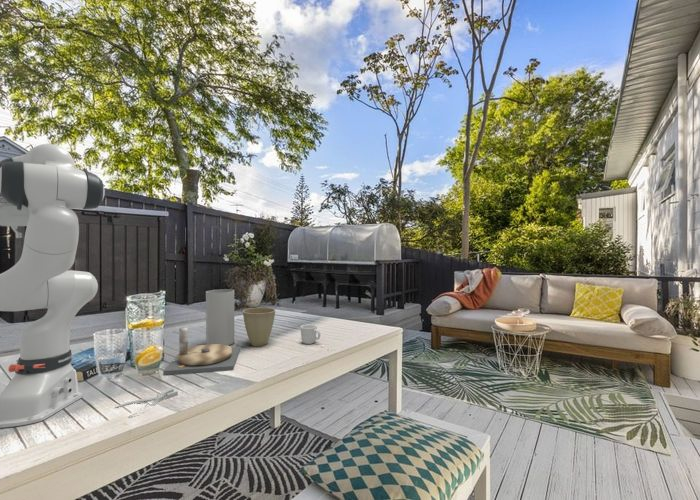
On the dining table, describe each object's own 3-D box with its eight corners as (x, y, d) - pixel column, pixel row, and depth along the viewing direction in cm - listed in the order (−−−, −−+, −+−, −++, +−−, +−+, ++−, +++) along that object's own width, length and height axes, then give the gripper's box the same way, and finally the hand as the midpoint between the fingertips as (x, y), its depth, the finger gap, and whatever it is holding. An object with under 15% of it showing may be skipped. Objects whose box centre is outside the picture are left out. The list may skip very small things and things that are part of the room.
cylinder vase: (221, 338, 168) (220, 288, 167) (240, 341, 162) (239, 290, 162) (200, 345, 156) (199, 292, 156) (219, 349, 151) (219, 293, 150)
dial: (231, 346, 148) (231, 319, 148) (232, 361, 130) (232, 330, 129) (180, 351, 141) (180, 323, 141) (174, 368, 122) (174, 335, 122)
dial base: (233, 369, 126) (233, 365, 126) (163, 375, 121) (163, 370, 121) (239, 350, 150) (239, 346, 150) (181, 353, 144) (181, 349, 144)
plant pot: (264, 350, 150) (263, 314, 149) (236, 346, 155) (235, 312, 154) (281, 340, 164) (281, 308, 164) (255, 338, 169) (255, 306, 168)
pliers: (114, 403, 97) (167, 385, 109) (114, 409, 97) (167, 390, 109) (129, 413, 91) (183, 393, 104) (129, 419, 91) (183, 398, 104)
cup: (325, 342, 161) (325, 326, 161) (314, 347, 154) (314, 329, 154) (307, 339, 167) (307, 323, 167) (296, 343, 160) (296, 326, 160)
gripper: (-4, 200, 115) (-2, 240, 117) (72, 204, 131) (72, 238, 133) (-7, 197, 118) (-5, 235, 121) (68, 201, 134) (67, 234, 137)
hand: (36, 237), depth 127 cm, fingers open, 8 cm apart
